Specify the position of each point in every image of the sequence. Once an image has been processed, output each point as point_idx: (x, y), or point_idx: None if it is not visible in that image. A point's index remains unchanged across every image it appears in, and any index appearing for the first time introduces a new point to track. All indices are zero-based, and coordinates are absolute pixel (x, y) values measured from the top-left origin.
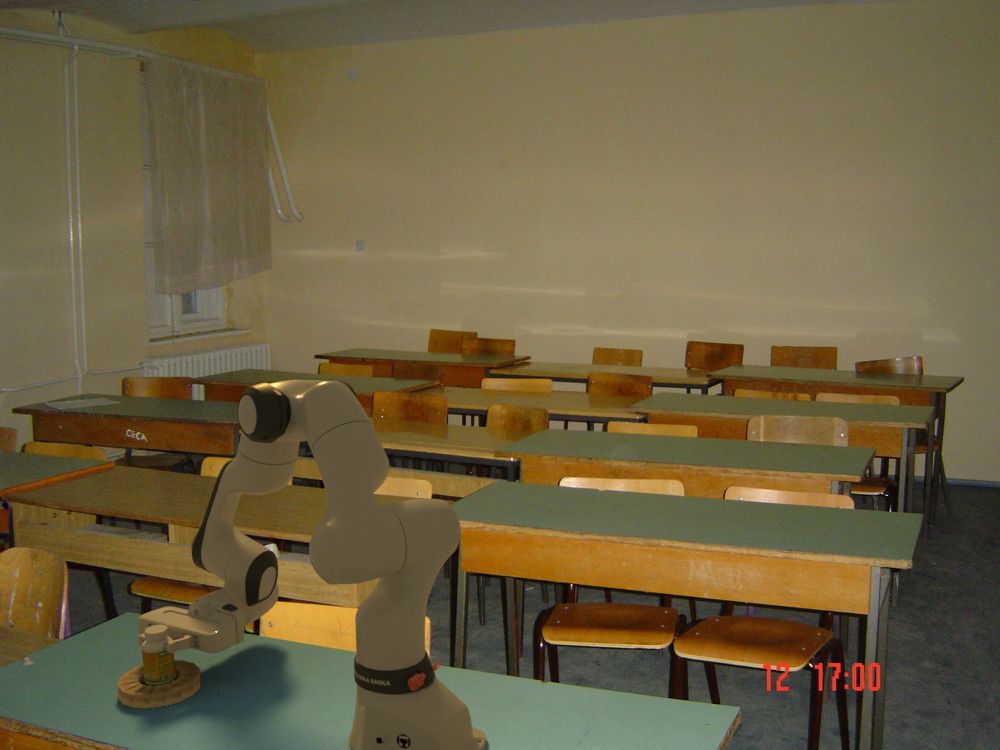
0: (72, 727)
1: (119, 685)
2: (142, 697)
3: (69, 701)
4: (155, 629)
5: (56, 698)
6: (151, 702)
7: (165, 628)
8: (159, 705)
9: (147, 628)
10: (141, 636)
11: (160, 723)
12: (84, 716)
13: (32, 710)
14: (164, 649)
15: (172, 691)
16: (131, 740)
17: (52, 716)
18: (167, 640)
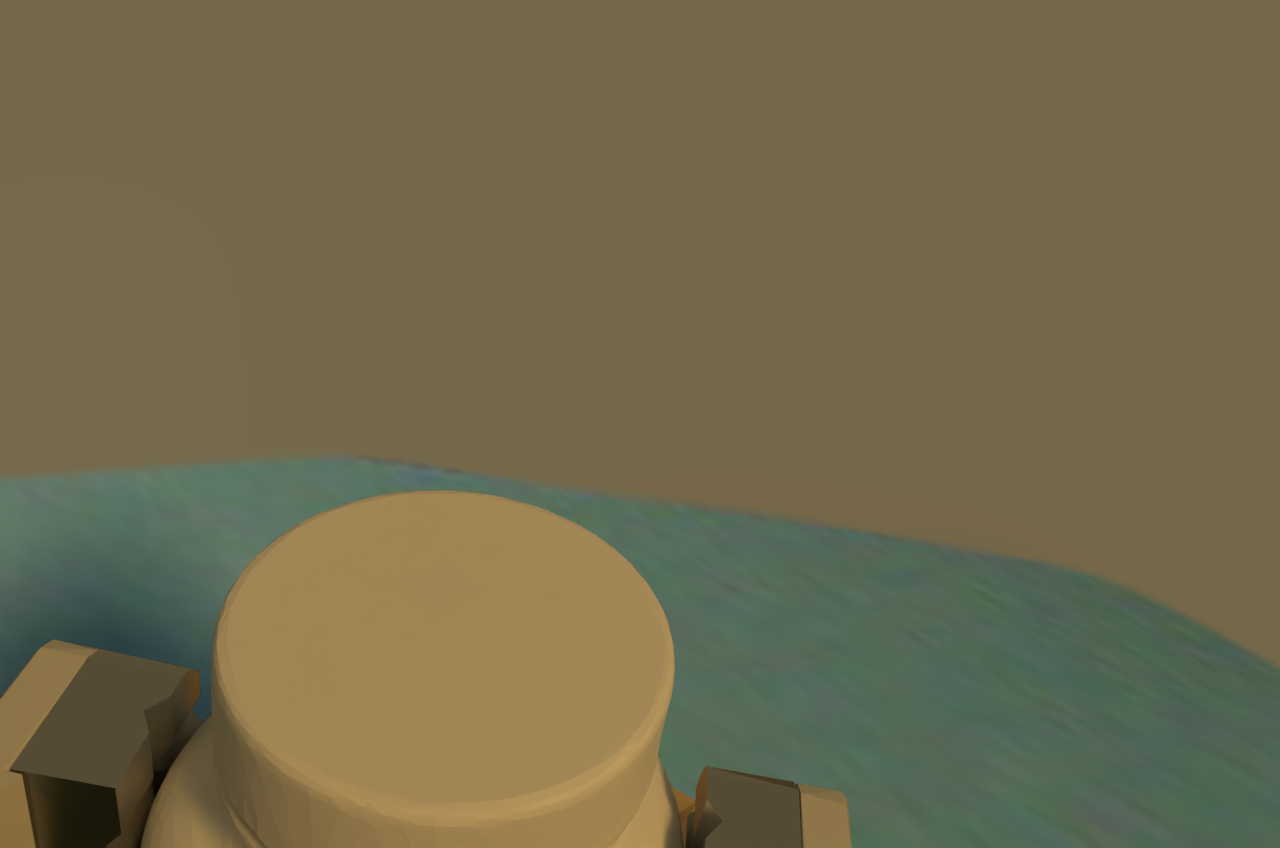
0: (646, 532)
1: (683, 809)
2: None
3: (994, 768)
4: (457, 613)
5: (1123, 783)
6: None
7: (260, 669)
8: None
9: (640, 615)
10: (776, 785)
11: (36, 645)
12: (692, 631)
13: (1067, 634)
14: (192, 721)
15: None
16: (162, 474)
17: (882, 602)
18: (213, 807)
